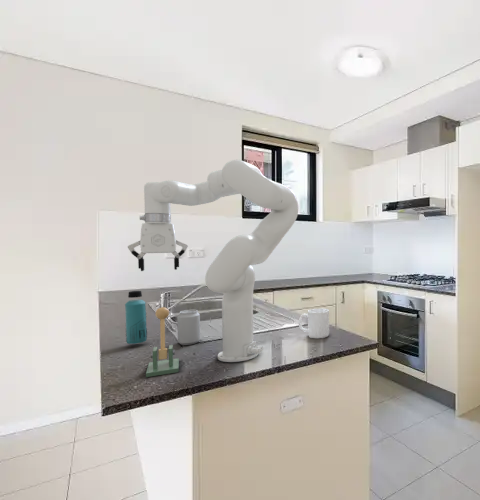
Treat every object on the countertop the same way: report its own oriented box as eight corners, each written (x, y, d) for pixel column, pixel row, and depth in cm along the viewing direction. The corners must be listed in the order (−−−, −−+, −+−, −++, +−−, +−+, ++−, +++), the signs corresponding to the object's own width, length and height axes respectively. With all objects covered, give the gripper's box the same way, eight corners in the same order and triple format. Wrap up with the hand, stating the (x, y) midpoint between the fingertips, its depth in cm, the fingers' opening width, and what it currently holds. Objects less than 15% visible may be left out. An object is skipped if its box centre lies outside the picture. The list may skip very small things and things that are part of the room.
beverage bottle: (139, 348, 126) (138, 292, 126) (121, 348, 126) (119, 292, 126) (151, 342, 133) (150, 289, 132) (134, 342, 133) (132, 289, 132)
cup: (327, 338, 137) (327, 312, 136) (296, 338, 137) (296, 312, 136) (330, 332, 145) (330, 308, 145) (301, 333, 145) (300, 308, 145)
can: (198, 344, 130) (197, 312, 130) (175, 346, 128) (174, 313, 127) (202, 339, 137) (201, 308, 137) (180, 340, 135) (179, 309, 135)
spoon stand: (149, 366, 108) (148, 345, 108) (179, 361, 112) (178, 341, 112) (145, 377, 99) (145, 354, 99) (178, 372, 103) (178, 350, 103)
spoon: (155, 307, 107) (154, 308, 104) (169, 306, 109) (168, 306, 106) (156, 358, 106) (155, 360, 103) (170, 356, 108) (169, 358, 105)
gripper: (125, 218, 112) (126, 272, 113) (187, 219, 120) (188, 269, 121) (128, 219, 119) (130, 270, 119) (187, 220, 127) (188, 268, 127)
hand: (159, 270), depth 120 cm, fingers open, 9 cm apart
